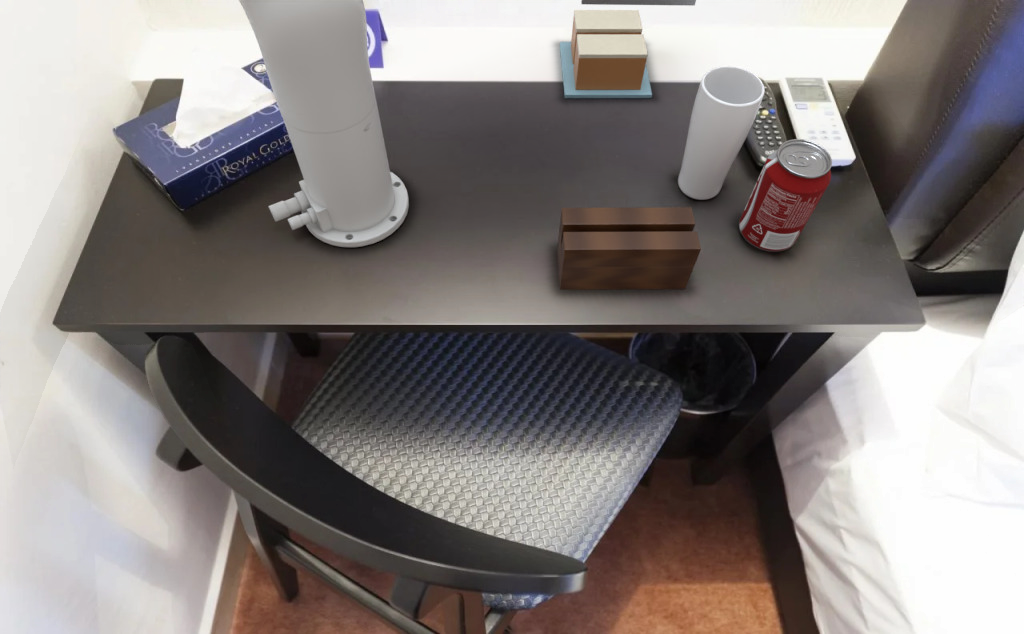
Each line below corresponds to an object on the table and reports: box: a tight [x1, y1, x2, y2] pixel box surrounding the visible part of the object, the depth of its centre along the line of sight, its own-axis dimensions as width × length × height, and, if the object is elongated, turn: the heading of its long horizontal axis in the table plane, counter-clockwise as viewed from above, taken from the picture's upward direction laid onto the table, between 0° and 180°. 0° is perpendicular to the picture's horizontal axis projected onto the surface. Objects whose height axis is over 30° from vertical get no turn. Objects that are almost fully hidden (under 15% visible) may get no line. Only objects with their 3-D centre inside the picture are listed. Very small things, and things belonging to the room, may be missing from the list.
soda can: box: [738, 138, 833, 253], centre depth 73 cm, size 7×7×12 cm
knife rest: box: [556, 206, 702, 291], centre depth 72 cm, size 14×6×7 cm, turn 91°
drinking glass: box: [677, 65, 766, 201], centre depth 76 cm, size 7×7×15 cm
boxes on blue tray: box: [559, 9, 653, 99], centre depth 92 cm, size 12×12×6 cm
